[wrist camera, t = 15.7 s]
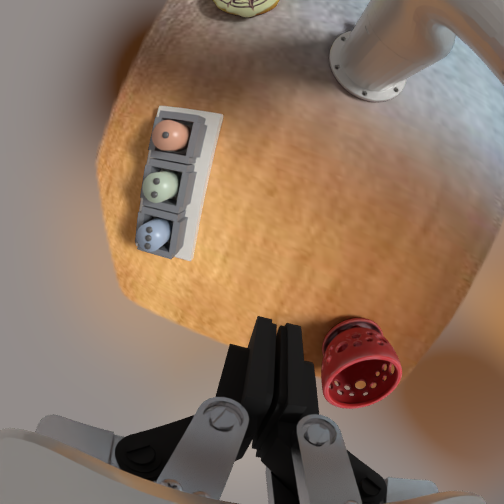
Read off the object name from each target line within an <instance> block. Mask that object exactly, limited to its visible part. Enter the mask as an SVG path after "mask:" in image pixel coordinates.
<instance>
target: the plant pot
mask: <svg viewBox="0 0 504 504" xmlns="http://www.w3.org/2000/svg"><path fill="white" fill-rule="evenodd" d="M322 352H323V356H324V357H323V361H322V370H321V379H322V390H323V395H324V397H325V399H326V400H327V401H328V402H329V403H331V404H332V405H334V406H337V407H340V408H349V409H352V408H360V407H365V406H369V405H371V404H374V403H376V402H378V401H380V400H382V399H383V398H385V397H386V396H388V395H389V394H390V393H391V392H392V391H393V390H394V389H395V388H396V387H397V385H398V384H399V382H400V379H401V376H402V367H401V364H400V361H399V359H398V356H397V355H396V352H395V350H394V349H393V347H392V346H391V344H390V343H389V342H388V340H387V339H386V338H385V337H384V336H383V333H382V330H381V328H380V327H379V326H378V325H377V324H376V323H375V322H373V321H372V320H369V319H365V318H353V319H349V320H345V321H343V322H341V323H339V324H337V325H336V326H335V327H333V328H332V329H331V330H330V331H329V332H328V334H327V335H326V337H325V339H324V341H323V345H322ZM385 364H386V365H387V369H386V371H384V366H385ZM392 364H393V365H394V367H395V370H394V373H393V374H392V373H391V366H392ZM377 372H380V375H379V376H376V373H377ZM385 376H387V379H386V380H385V381H384V377H385ZM334 381H337V382H338V384H339V386H336V385H335V383H334ZM358 381H364V382H365V383H366V386H365V387H364V388H363V389H357V388H356V387H355V383H356V382H358ZM374 383H376V384H377V385H376V387H375V388H371V386H372V384H374ZM346 385H347V386H349V387H350V390H346V389H345V388H344V386H346ZM329 386H331V388H329ZM337 390H340V391H341V392H342V395H340V394H338V393H337ZM365 392H368V394H367V395H365V396H364V395H363V393H365ZM350 393H353V394H354V396H350V395H349V394H350Z"/></svg>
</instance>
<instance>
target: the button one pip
mask: <svg viewBox="0 0 504 504" xmlns="http://www.w3.org/2000/svg"><path fill="white" fill-rule="evenodd" d="M190 135H191V129H190V128H189V127H188V126H187V125H184V124H181V123H178V122H175V121H172V120H164V121H161V122H160V123H158V124H157V125H156V126H155V128H154V130H153V133H152V141H153V143H154V145H155V146H156V147H157V148H158V149H160V150H169V151H182V150H184V149H186V148H188V144H189V140H190Z"/></svg>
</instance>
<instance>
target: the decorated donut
mask: <svg viewBox="0 0 504 504" xmlns="http://www.w3.org/2000/svg"><path fill="white" fill-rule="evenodd" d="M213 2H215V4H216V6H217V7H218V8H219V9H221V10H222V11H224V12H227V13H230V14H234V15H240V16H242V17H252V16H255V15H259V14H263V13H266V12H268V11H270V10H272V9H273V8H274V7H276V6H277V3H278V2H279V0H213Z"/></svg>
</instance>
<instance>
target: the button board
mask: <svg viewBox="0 0 504 504" xmlns="http://www.w3.org/2000/svg"><path fill="white" fill-rule="evenodd" d="M223 116H224V115H222V114H218V113H212V112H206V111H200V110H193V109H185V108H177V107H168V106H159V109H158V113H157V117H155V121H154V125H153V130H154V128H155V126H156V125H157V124H158V123H160V122H161V121H164V120H172V121H175V122H178V123H181V124H184V125H187V126H188V127H189V128H190V129H191V135H190V140H189V144H188V148H186V149H184V150H182V151H169V150H160V149H158V148H157V147H156V146H155V145H154V143H153V141H152V134H151V139H150V144H149V149H148V150H149V154H148V159H147V164H146V165H145V170H144V176H143V182H144V180H145V178H146V177H147V176H148V175H149V174H151V173H156V172H163V171H175V172H177V173H178V174H179V175H180V176H181V182H180V187H179V193H178V195H177V196H175V197H172V198H170V199H167V200H165V201H162V202H159V203H153V202H150V201H149V200H148V199H147V198H146V197H145V196H144V193H143V188H142V189H141V196H140V198H141V203H140V210H139V212H138V219H137V229H136V234H137V230H138V229H139V227H140V226H142V225H143V224H145V223H147V222H149V221H151V220H153V219H155V218H156V217H160V218H164V219H168V220H171V221H172V222H173V228H172V235H171V239H170V240H169V241H167V242H166V243H165V244H164V245H162V246H161V247H160V248H159V249H157V250H156V251H153V252H148V251H145V250H144V249H142V248H141V247H140V246H139V244H138V242H137V238H136V239H135V243H136V246H138V248H137V249H138V250H141V251H145V252H148V253H152V254H155V255H158V256H162V257H165V258H169V259H172V258H173V257H177V258H181V259H184V260H188V261H191V260H192V259H193V256H194V251H195V245H196V240H197V234H198V229H199V223H200V218H201V213H202V208H203V203H204V198H205V194H206V189H207V184H208V179H209V175H210V170H211V166H212V162H213V157H214V153H215V149H216V144H217V140H218V136H219V132H220V128H221V124H222V120H223ZM153 130H152V133H153ZM142 187H143V183H142Z"/></svg>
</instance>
